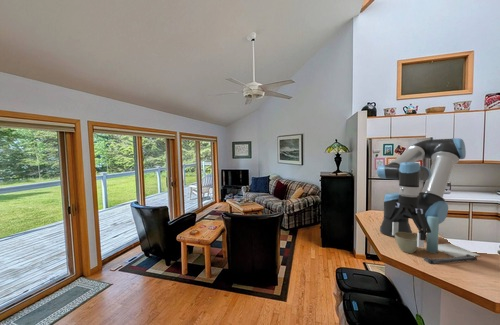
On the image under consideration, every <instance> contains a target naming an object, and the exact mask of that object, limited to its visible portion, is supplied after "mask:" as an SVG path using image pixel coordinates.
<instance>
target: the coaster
mask: <svg viewBox="0 0 500 325" xmlns="http://www.w3.org/2000/svg"><path fill="white" fill-rule="evenodd" d="M438 252H441V253H444V254H445V255H448V256H450V257H451V258H457V257H467V256H466V254H469V255H472V256H478V257H480V254H478V253H475V252H473V251H470V250H468V249H465V248H462V247H460V246H457V245H455V244H453V243H438Z"/></svg>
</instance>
